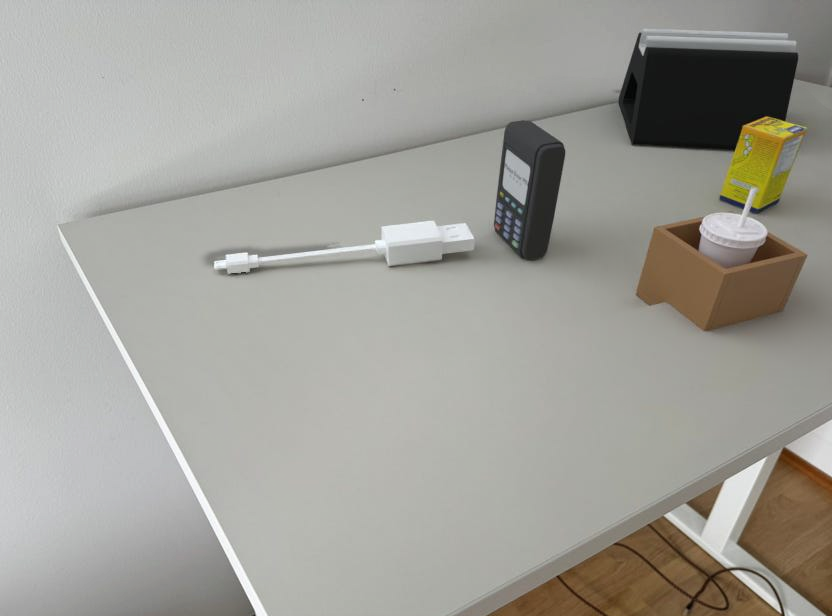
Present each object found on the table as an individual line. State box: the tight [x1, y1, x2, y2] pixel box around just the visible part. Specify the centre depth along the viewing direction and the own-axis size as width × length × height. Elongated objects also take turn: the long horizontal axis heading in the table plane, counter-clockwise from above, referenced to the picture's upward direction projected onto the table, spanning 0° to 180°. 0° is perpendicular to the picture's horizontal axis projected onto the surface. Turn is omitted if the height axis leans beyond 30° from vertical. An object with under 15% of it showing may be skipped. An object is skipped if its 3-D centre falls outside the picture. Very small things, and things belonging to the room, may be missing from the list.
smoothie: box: [699, 187, 769, 269], centre depth 75 cm, size 6×6×14 cm
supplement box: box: [718, 117, 808, 215], centre depth 98 cm, size 6×6×11 cm
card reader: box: [493, 119, 566, 261], centre depth 88 cm, size 9×4×15 cm, turn 18°
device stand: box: [618, 28, 799, 151], centre depth 120 cm, size 22×22×15 cm
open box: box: [635, 210, 808, 332], centre depth 78 cm, size 11×11×9 cm
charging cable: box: [213, 220, 475, 275], centre depth 89 cm, size 5×32×3 cm, turn 98°
